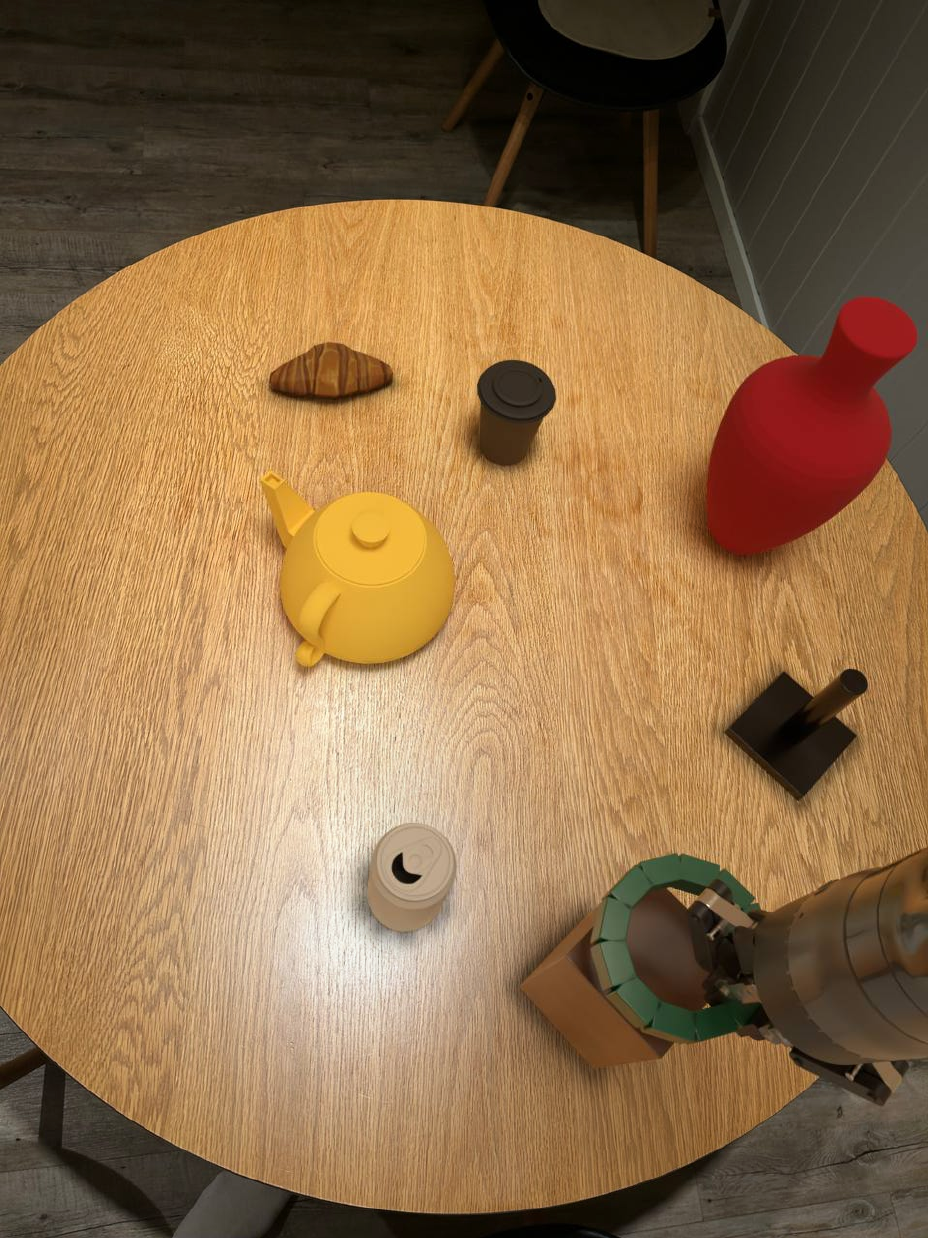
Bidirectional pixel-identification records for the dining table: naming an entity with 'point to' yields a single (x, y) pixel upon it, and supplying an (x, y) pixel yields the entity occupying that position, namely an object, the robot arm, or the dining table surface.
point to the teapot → (360, 574)
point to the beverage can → (410, 876)
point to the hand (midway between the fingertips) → (731, 1005)
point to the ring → (618, 965)
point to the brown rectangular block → (582, 1006)
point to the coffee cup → (512, 409)
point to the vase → (806, 433)
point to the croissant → (330, 373)
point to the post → (798, 729)
